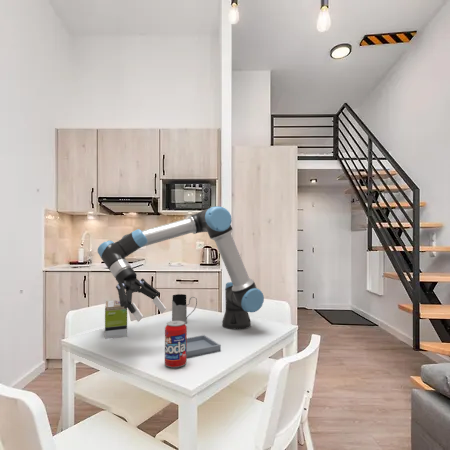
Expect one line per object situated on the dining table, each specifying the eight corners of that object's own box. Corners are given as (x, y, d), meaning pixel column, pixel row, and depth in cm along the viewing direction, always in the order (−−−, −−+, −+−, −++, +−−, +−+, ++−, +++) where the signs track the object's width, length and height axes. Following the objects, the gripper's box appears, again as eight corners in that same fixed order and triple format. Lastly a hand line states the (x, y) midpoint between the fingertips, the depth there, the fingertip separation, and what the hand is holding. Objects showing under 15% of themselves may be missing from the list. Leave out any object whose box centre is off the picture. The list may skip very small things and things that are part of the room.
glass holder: (170, 321, 166) (170, 294, 167) (195, 319, 170) (195, 293, 171) (172, 326, 157) (172, 297, 158) (198, 323, 162) (198, 295, 163)
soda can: (186, 359, 112) (186, 319, 113) (186, 368, 104) (187, 325, 105) (165, 361, 111) (165, 320, 112) (164, 370, 103) (164, 326, 104)
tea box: (105, 330, 150) (105, 300, 151) (126, 328, 154) (126, 299, 155) (104, 339, 136) (105, 306, 137) (127, 336, 140) (127, 304, 141)
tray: (204, 340, 134) (204, 335, 134) (220, 351, 121) (220, 345, 121) (172, 346, 126) (172, 340, 127) (186, 358, 113) (186, 351, 114)
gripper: (139, 276, 132) (166, 314, 125) (93, 283, 110) (123, 329, 103) (149, 264, 130) (177, 302, 123) (104, 269, 108) (135, 315, 101)
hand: (153, 314), depth 113 cm, fingers open, 13 cm apart
